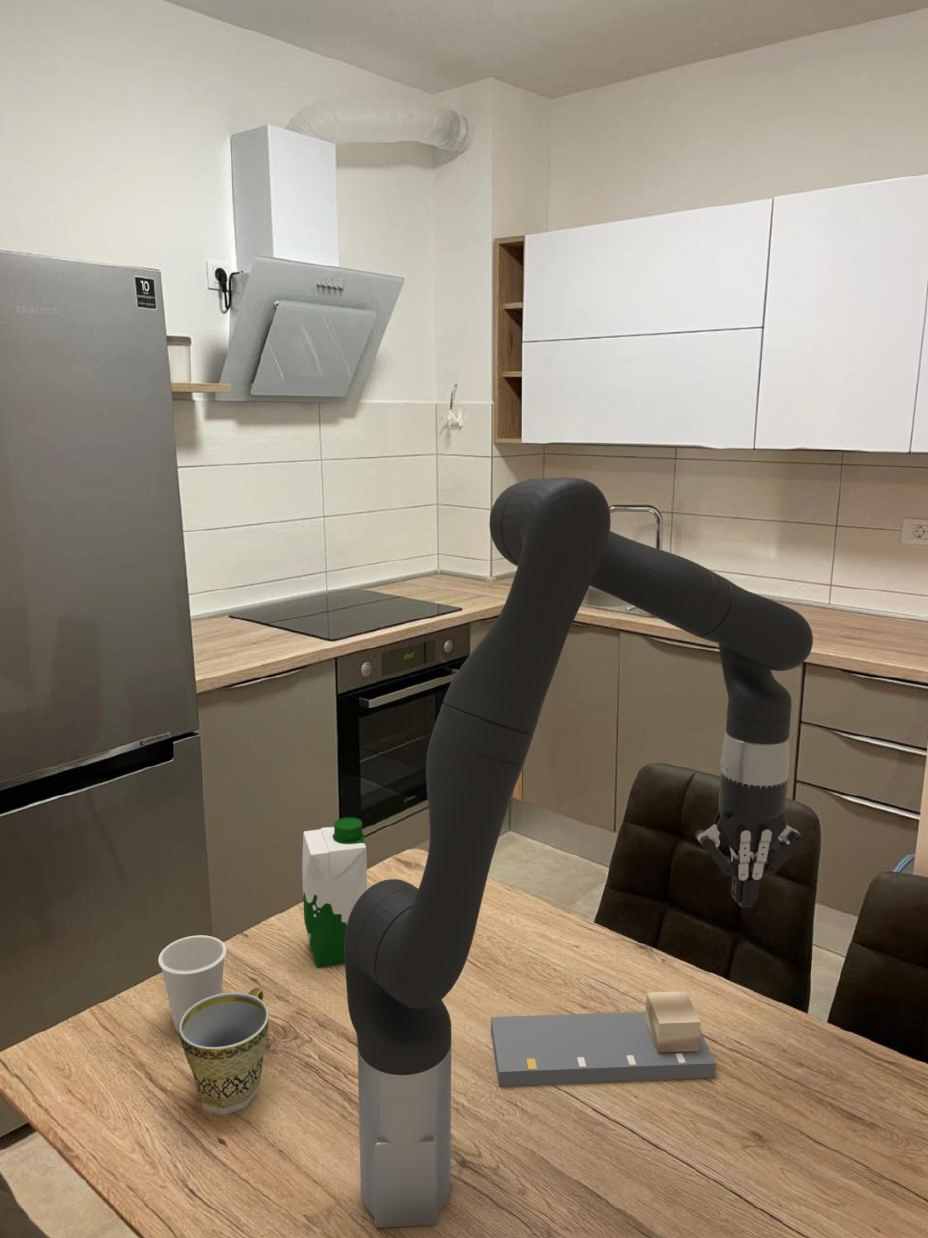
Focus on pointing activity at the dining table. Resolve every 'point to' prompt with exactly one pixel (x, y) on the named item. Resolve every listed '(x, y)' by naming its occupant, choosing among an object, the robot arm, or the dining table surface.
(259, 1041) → the ceramic cup
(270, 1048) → the dining table surface
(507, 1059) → the board
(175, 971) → the dixie cup
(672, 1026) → the knob
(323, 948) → the soya milk
